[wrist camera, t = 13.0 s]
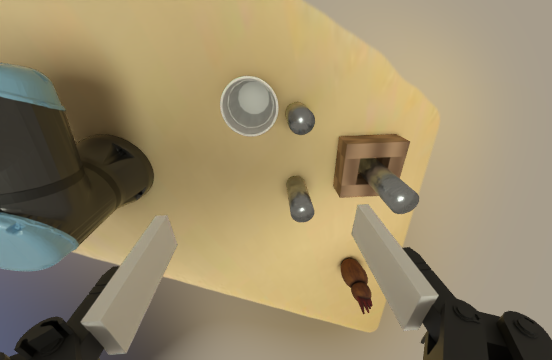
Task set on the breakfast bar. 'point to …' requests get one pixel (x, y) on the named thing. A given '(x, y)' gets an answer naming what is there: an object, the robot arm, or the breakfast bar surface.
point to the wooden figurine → (357, 282)
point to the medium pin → (299, 199)
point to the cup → (249, 106)
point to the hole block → (368, 146)
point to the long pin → (388, 186)
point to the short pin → (299, 118)
